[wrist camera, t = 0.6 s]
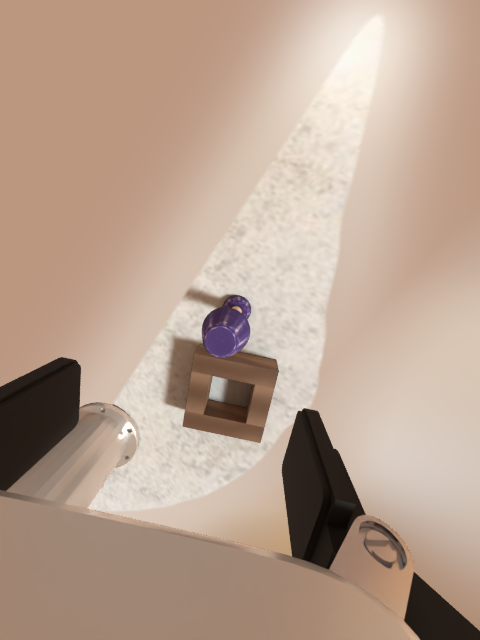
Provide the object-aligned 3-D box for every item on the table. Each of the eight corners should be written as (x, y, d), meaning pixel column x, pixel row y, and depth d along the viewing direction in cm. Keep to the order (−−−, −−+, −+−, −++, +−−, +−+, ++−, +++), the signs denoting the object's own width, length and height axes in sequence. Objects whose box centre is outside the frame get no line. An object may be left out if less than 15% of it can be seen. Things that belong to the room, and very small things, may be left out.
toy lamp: (214, 305, 36) (181, 341, 20) (236, 284, 35) (221, 303, 19) (236, 328, 37) (221, 381, 21) (259, 308, 36) (262, 347, 20)
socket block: (259, 425, 40) (260, 442, 37) (189, 410, 41) (182, 426, 37) (276, 359, 38) (278, 371, 34) (200, 344, 38) (194, 353, 34)
